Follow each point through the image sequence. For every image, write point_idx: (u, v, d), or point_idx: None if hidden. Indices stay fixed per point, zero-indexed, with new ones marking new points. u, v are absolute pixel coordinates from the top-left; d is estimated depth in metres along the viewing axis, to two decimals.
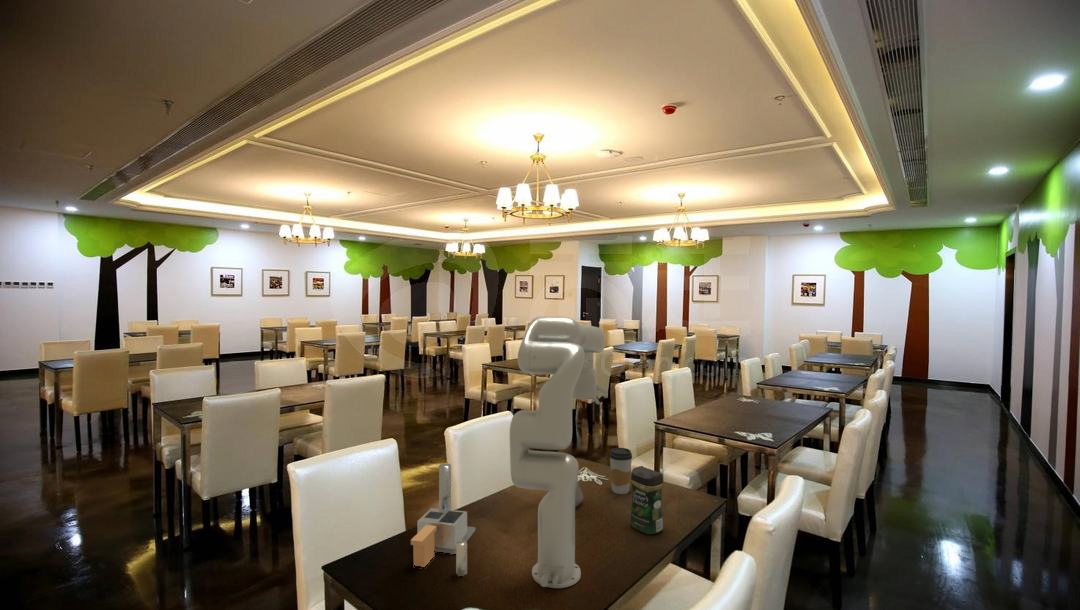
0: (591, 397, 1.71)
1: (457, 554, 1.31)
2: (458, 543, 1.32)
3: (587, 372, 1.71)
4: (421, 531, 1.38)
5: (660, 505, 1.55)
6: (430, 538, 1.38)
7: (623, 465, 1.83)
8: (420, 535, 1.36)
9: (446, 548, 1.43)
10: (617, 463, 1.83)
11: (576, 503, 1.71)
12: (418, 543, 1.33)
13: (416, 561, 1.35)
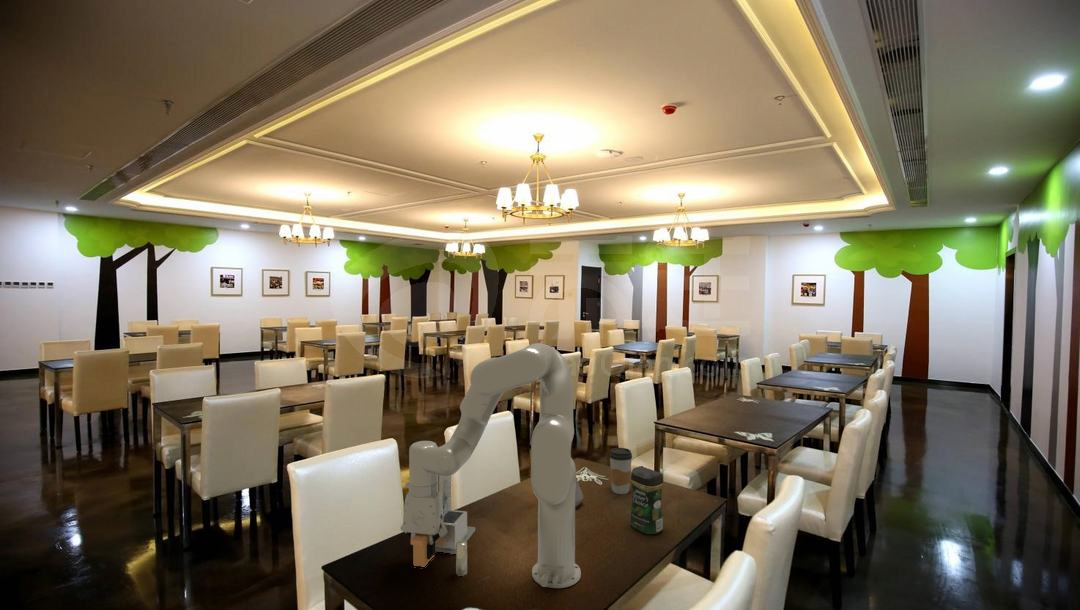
0: (431, 533, 1.34)
1: (457, 554, 1.31)
2: (458, 543, 1.32)
3: (427, 500, 1.34)
4: None
5: (660, 505, 1.55)
6: None
7: (623, 465, 1.83)
8: (420, 535, 1.36)
9: (446, 548, 1.43)
10: (617, 463, 1.83)
11: (576, 503, 1.71)
12: (418, 543, 1.33)
13: (416, 561, 1.35)
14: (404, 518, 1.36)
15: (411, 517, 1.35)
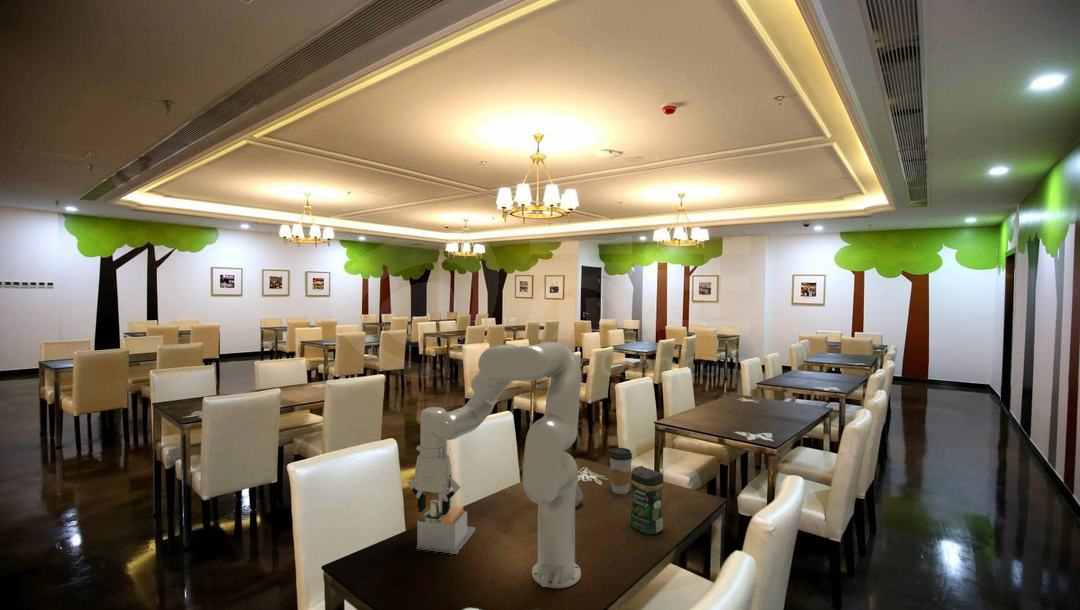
0: (440, 491, 1.45)
1: (430, 511, 1.47)
2: (431, 501, 1.48)
3: (436, 461, 1.45)
4: (449, 511, 1.48)
5: (660, 505, 1.55)
6: None
7: (623, 465, 1.83)
8: (449, 515, 1.46)
9: (446, 548, 1.43)
10: (617, 463, 1.83)
11: (576, 503, 1.71)
12: (448, 522, 1.42)
13: None
14: (415, 478, 1.47)
15: (422, 477, 1.46)
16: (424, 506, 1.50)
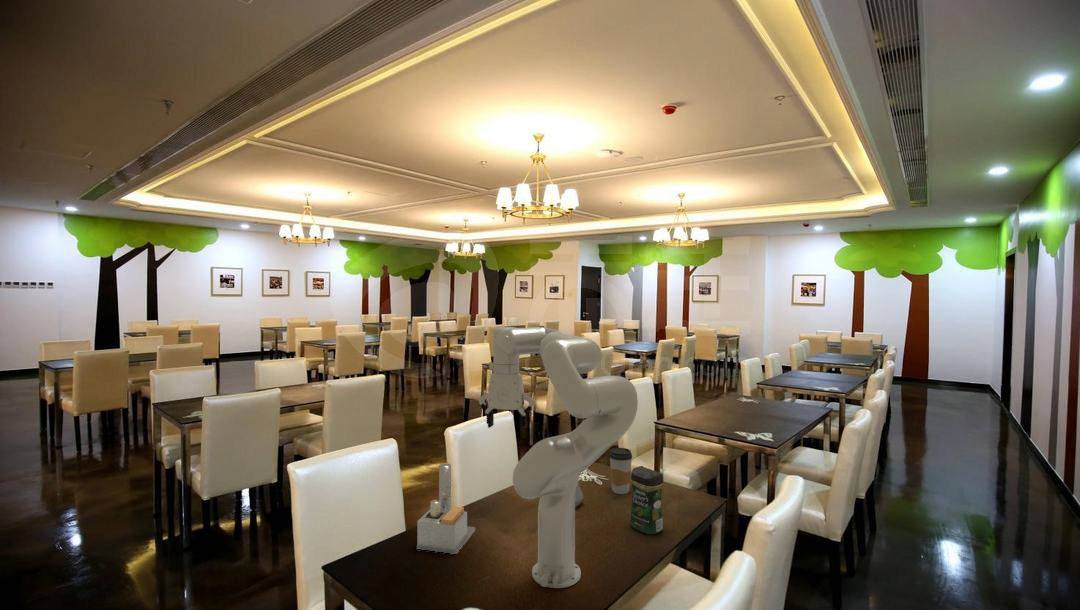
0: (515, 407, 1.46)
1: (431, 511, 1.47)
2: (432, 501, 1.48)
3: (511, 378, 1.46)
4: (450, 511, 1.48)
5: (660, 505, 1.55)
6: None
7: (623, 465, 1.83)
8: (449, 515, 1.45)
9: (446, 548, 1.43)
10: (617, 463, 1.83)
11: (576, 503, 1.71)
12: (448, 522, 1.42)
13: None
14: (489, 395, 1.48)
15: (496, 394, 1.47)
16: (492, 422, 1.51)
